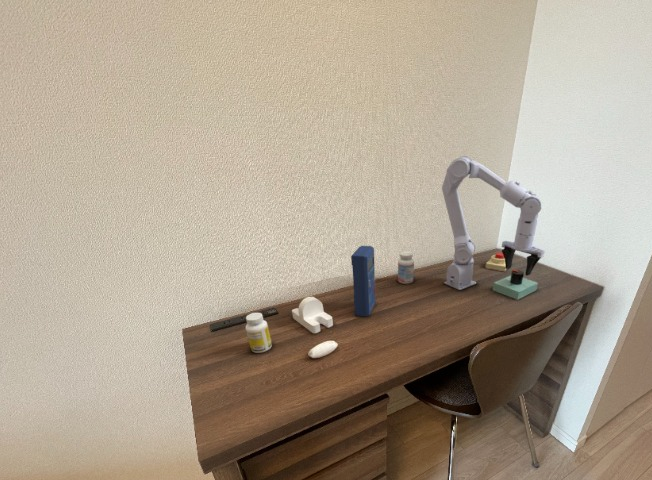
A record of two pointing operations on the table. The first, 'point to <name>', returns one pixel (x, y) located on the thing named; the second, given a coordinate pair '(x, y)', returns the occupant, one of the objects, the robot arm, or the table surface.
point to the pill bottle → (405, 268)
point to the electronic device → (363, 280)
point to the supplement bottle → (258, 333)
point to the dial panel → (515, 287)
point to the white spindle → (323, 349)
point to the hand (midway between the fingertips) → (517, 271)
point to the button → (499, 256)
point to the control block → (496, 264)
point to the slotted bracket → (312, 315)
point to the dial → (516, 277)
